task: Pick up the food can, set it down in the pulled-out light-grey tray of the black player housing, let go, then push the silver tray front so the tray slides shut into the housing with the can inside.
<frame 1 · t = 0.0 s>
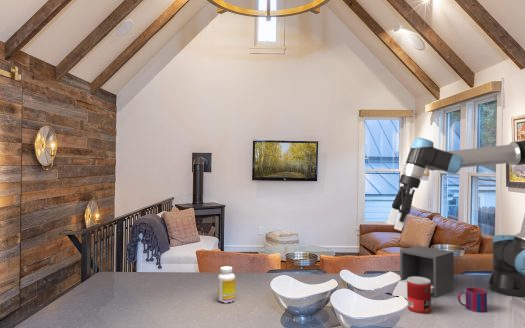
hand: (393, 226, 150), 28 cm above the kitchen island, tool tilted 20°, fingers open, 13 cm apart
canned food: (419, 310, 136), on the kitchen island
housing: (426, 288, 159), on the kitchen island
tray: (410, 286, 152), point 3 cm above the kitchen island, slide at 10.0 cm
supplement bottle: (226, 301, 146), on the kitchen island
mug: (471, 309, 137), on the kitchen island
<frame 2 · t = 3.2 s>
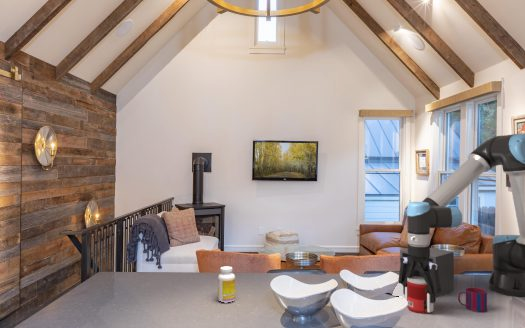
hand: (418, 307, 136), 1 cm above the kitchen island, tool pointing down, fingers closed on canned food, 8 cm apart
canned food: (419, 310, 136), on the kitchen island, touching gripper
everything else where it was.
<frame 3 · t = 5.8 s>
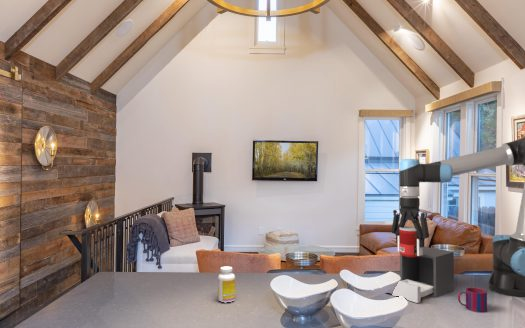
hand: (409, 253, 152), 17 cm above the kitchen island, tool pointing down, fingers closed on canned food, 8 cm apart
canned food: (409, 255, 152), point 16 cm above the kitchen island, touching gripper
everything else where it was.
when the fingers open (4 cm above the kitchen island, at t = 8.4 s): canned food drops 1 cm, resting on tray.
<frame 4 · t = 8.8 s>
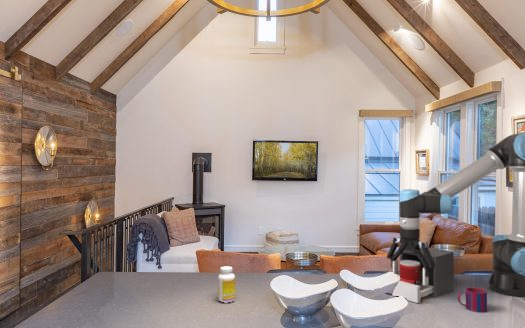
hand: (410, 280, 152), 6 cm above the kitchen island, tool pointing down, fingers open, 13 cm apart
canned food: (410, 290, 152), point 2 cm above the kitchen island, touching tray
tray: (410, 286, 152), point 3 cm above the kitchen island, slide at 10.0 cm, touching canned food
everything else where it was.
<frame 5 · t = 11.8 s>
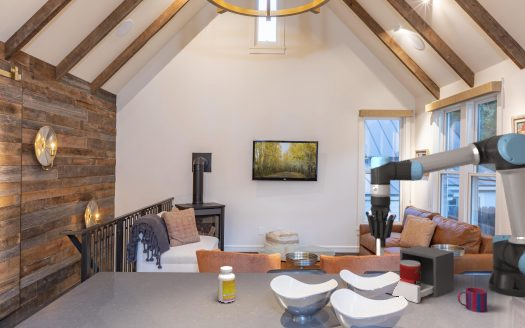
hand: (380, 255, 148), 17 cm above the kitchen island, tool pointing down, fingers closed
nothing on the kitchen island moved.
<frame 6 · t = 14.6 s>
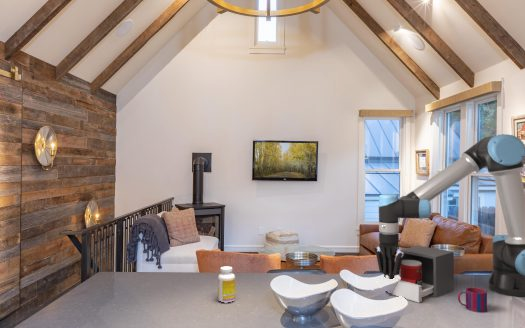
hand: (389, 291, 151), 2 cm above the kitchen island, tool pointing down, fingers closed
tray: (411, 285, 153), point 3 cm above the kitchen island, slide at 9.2 cm, touching canned food, gripper
everything else where it was.
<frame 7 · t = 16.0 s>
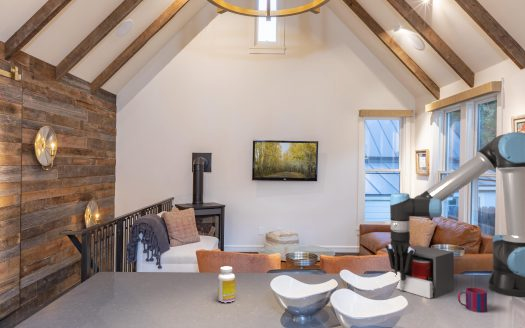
hand: (400, 287, 156), 2 cm above the kitchen island, tool pointing down, fingers closed
canned food: (421, 285, 157), point 2 cm above the kitchen island, touching tray
tray: (422, 282, 157), point 3 cm above the kitchen island, slide at 1.5 cm, touching canned food, gripper
everything else where it was.
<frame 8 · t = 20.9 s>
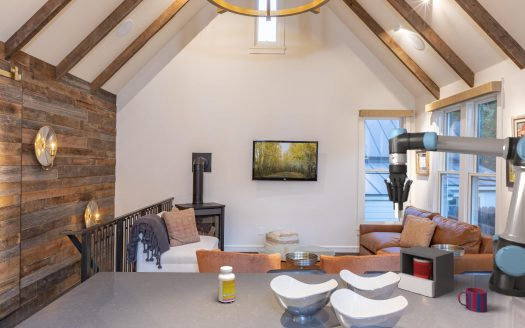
hand: (398, 217, 164), 29 cm above the kitchen island, tool pointing down, fingers closed
canned food: (423, 285, 158), point 2 cm above the kitchen island, touching tray
tray: (424, 281, 158), point 3 cm above the kitchen island, slide at 0.0 cm, touching canned food
everything else where it was.
at the end: tray slide at 0.0 cm; canned food inside the target area on the housing (2.2 cm from its centre), point 1.9 cm above the housing's base; canned food tilted 0° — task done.
